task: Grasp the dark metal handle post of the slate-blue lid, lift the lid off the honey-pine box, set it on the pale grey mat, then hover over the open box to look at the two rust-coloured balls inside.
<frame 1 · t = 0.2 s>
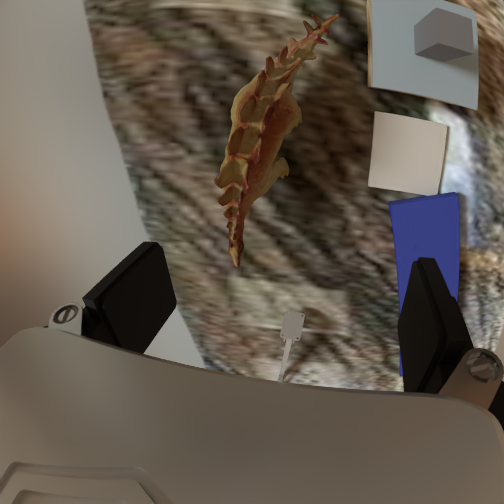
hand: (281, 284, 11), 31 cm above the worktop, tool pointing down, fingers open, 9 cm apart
toy: (273, 124, 37), on the worktop
pine box: (413, 51, 26), on the worktop
lid: (426, 44, 21), point 6 cm above the worktop, touching pine box
mat: (407, 154, 33), on the worktop
long blue plank: (427, 296, 42), on the worktop, touching mat
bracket: (288, 347, 56), on the worktop
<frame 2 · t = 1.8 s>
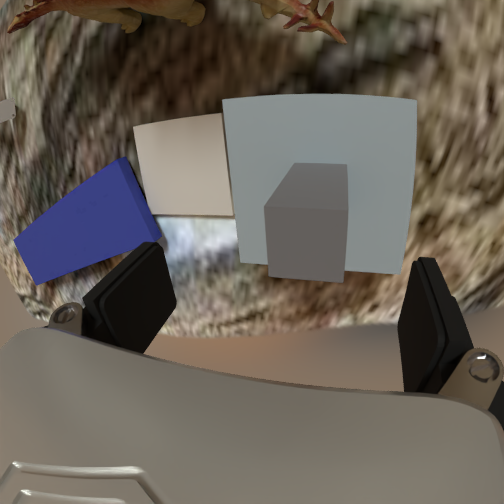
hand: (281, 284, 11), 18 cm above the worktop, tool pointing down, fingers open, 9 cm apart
lid: (322, 184, 20), point 6 cm above the worktop, touching pine box
mat: (183, 166, 29), on the worktop
long blue plank: (72, 234, 39), on the worktop, touching mat
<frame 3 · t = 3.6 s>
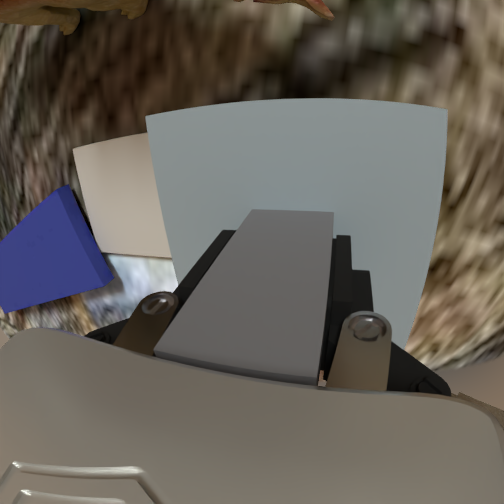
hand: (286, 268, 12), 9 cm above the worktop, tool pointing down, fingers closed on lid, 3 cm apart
lid: (296, 236, 14), point 6 cm above the worktop, touching gripper, pine box
mat: (129, 197, 23), on the worktop
long blue plank: (31, 264, 32), on the worktop, touching mat
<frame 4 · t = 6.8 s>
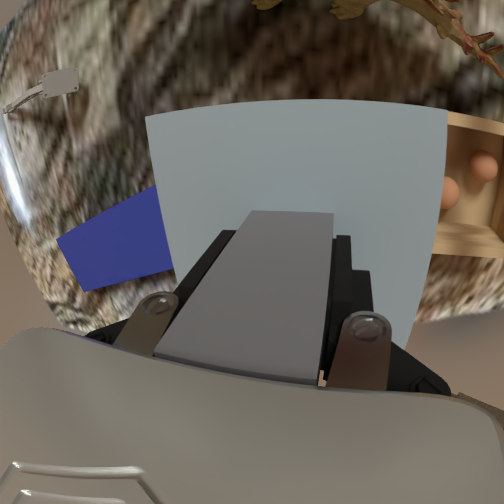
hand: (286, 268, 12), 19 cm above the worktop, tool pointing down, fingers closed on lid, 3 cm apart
rust ball A: (483, 166, 20), point 2 cm above the worktop, touching pine box
rust ball B: (444, 192, 23), point 2 cm above the worktop, touching pine box
pine box: (455, 172, 24), on the worktop
lid: (296, 237, 14), point 16 cm above the worktop, touching gripper
long blue plank: (147, 231, 37), on the worktop, touching mat
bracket: (42, 95, 32), on the worktop
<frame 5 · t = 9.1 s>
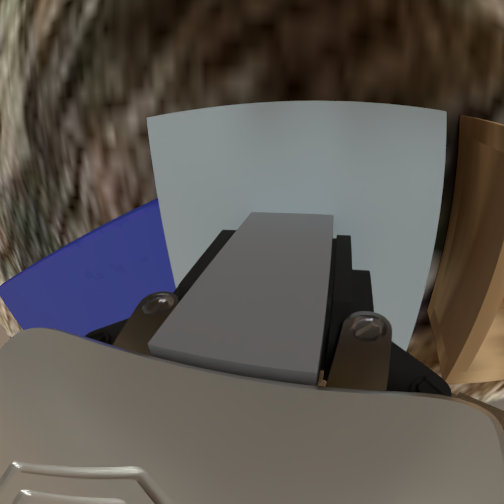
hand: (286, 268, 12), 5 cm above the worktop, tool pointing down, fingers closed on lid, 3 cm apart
lid: (295, 241, 14), point 3 cm above the worktop, touching gripper, long blue plank
long blue plank: (80, 294, 26), on the worktop, touching lid, mat
when the fingers open (5 cm above the worktop, at t = 9.9 s): lid stays where it is, resting on mat, long blue plank.
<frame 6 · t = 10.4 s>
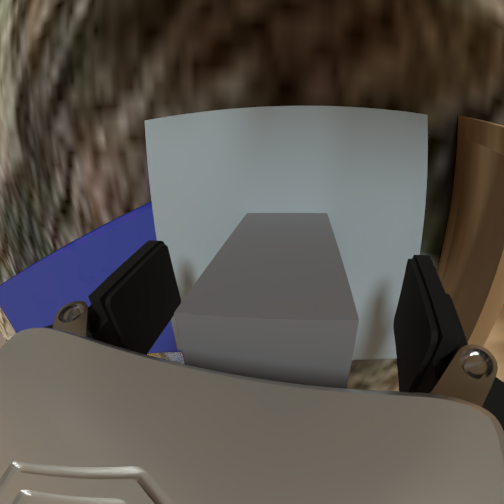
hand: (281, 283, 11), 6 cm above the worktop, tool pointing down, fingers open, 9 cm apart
lid: (288, 243, 14), point 2 cm above the worktop, tilted 11°, touching mat, long blue plank
long blue plank: (73, 298, 25), on the worktop, touching lid, mat
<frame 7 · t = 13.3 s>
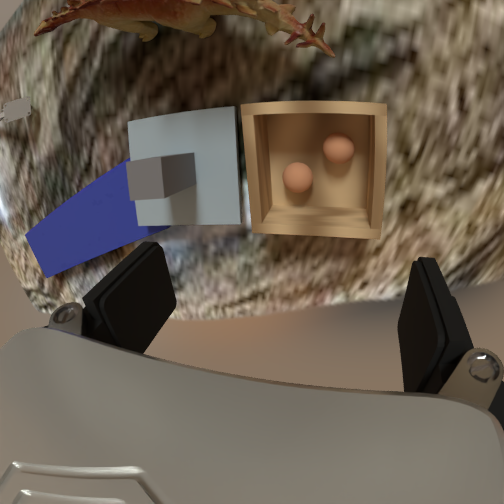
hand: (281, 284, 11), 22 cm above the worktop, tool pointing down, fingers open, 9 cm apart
rust ball A: (338, 148, 26), point 2 cm above the worktop, touching pine box
toy: (196, 10, 24), on the worktop
rust ball B: (297, 177, 28), point 2 cm above the worktop, touching pine box
pine box: (319, 157, 29), on the worktop
lid: (183, 168, 32), point 2 cm above the worktop, tilted 11°, touching mat, long blue plank
long blue plank: (86, 226, 43), on the worktop, touching lid, mat
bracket: (10, 116, 37), on the worktop
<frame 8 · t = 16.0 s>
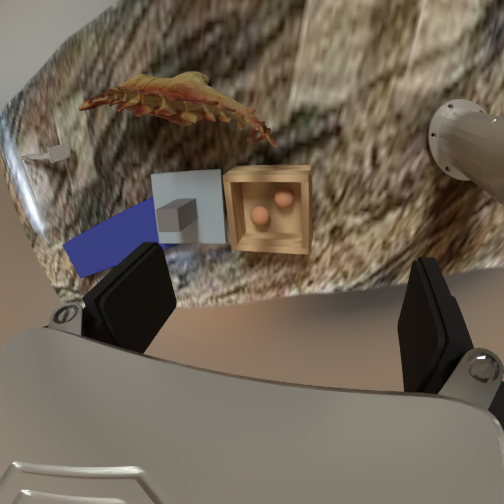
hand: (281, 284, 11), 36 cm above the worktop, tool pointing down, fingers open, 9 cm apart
rust ball A: (284, 197, 45), point 2 cm above the worktop, touching pine box
toy: (193, 96, 43), on the worktop
rust ball B: (259, 215, 47), point 2 cm above the worktop, touching pine box
pine box: (275, 201, 48), on the worktop
lid: (189, 207, 50), point 2 cm above the worktop, tilted 11°, touching mat, long blue plank
long blue plank: (116, 240, 61), on the worktop, touching lid, mat
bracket: (48, 151, 56), on the worktop
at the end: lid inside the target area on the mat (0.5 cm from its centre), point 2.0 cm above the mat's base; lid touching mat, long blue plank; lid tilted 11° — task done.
